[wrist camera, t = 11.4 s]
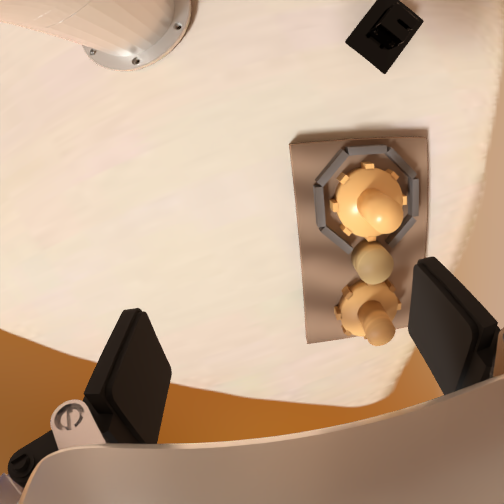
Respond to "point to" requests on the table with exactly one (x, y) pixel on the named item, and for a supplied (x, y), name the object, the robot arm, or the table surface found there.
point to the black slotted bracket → (384, 33)
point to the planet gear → (368, 201)
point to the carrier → (357, 240)
